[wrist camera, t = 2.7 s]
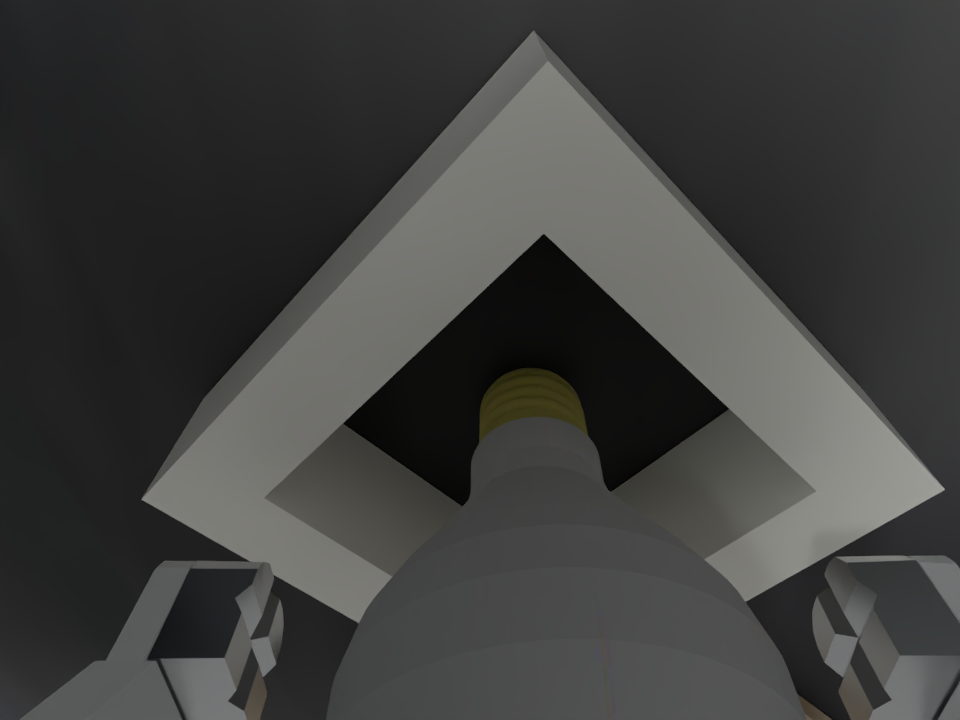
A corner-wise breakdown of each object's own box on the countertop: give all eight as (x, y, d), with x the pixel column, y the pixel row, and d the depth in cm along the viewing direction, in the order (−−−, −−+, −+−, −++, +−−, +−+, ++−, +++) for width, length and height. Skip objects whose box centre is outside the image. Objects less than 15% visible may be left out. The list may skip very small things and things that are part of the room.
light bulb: (611, 226, 12) (897, 906, 4) (693, 444, 15) (971, 1136, 6) (347, 336, 13) (102, 1030, 5) (466, 519, 16) (440, 1180, 7)
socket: (203, 398, 14) (141, 499, 12) (533, 30, 10) (547, 60, 8) (525, 608, 18) (532, 722, 15) (861, 388, 14) (945, 489, 11)
